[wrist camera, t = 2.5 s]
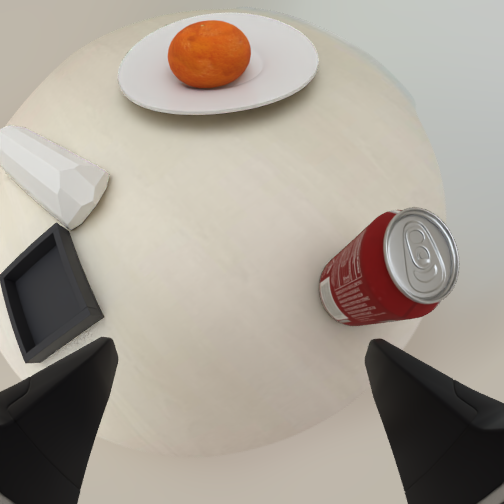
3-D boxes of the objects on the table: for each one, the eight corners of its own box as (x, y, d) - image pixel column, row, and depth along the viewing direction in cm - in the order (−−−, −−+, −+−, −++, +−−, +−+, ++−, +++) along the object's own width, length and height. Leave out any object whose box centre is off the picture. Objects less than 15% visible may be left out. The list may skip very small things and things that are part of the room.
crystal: (123, 150, 24) (28, 110, 26) (65, 182, 19) (-10, 129, 21) (123, 208, 29) (32, 151, 32) (77, 244, 24) (-2, 171, 27)
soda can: (324, 333, 23) (392, 330, 12) (309, 261, 25) (359, 202, 14) (389, 316, 24) (476, 297, 12) (373, 249, 26) (445, 194, 14)
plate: (203, 18, 38) (200, -16, 30) (340, 59, 35) (353, 18, 27) (89, 100, 31) (68, 60, 23) (247, 170, 28) (249, 111, 19)
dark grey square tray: (104, 316, 23) (90, 314, 20) (40, 362, 21) (25, 363, 19) (68, 231, 25) (56, 222, 23) (12, 280, 23) (-2, 275, 21)
